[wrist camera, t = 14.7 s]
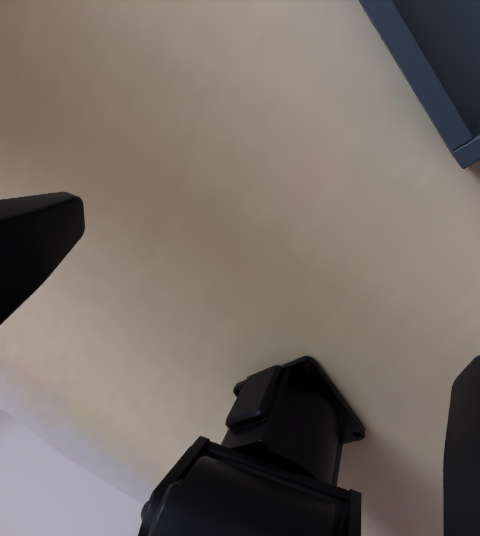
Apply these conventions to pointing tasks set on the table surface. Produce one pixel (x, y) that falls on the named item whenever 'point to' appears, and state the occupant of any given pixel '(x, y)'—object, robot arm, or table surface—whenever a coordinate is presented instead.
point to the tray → (438, 63)
